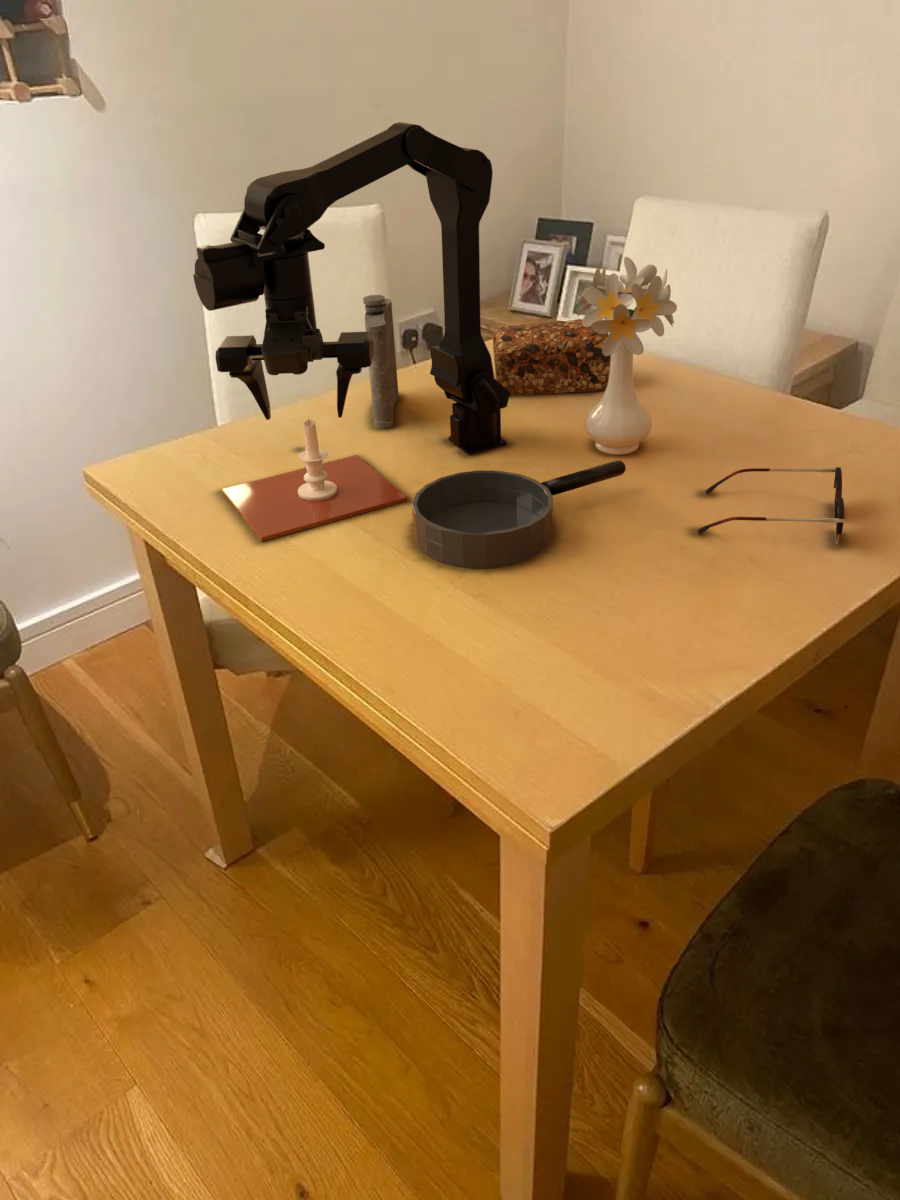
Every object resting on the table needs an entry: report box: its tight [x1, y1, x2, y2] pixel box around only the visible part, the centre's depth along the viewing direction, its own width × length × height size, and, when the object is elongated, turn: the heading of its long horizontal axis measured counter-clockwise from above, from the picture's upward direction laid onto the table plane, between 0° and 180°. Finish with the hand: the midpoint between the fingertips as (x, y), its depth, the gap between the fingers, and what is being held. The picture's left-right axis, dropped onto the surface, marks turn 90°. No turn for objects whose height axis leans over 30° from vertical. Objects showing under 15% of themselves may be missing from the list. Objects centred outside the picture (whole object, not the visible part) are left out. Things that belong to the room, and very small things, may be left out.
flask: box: [362, 294, 400, 430], centre depth 149 cm, size 4×14×18 cm, turn 179°
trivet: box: [221, 454, 408, 542], centre depth 129 cm, size 20×16×1 cm
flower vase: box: [576, 256, 678, 455], centre depth 131 cm, size 13×18×25 cm
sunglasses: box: [697, 466, 845, 545], centre depth 118 cm, size 14×16×5 cm
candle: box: [298, 418, 337, 501], centre depth 126 cm, size 5×5×10 cm
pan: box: [411, 469, 554, 569], centre depth 118 cm, size 17×17×4 cm
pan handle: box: [540, 459, 627, 497], centre depth 123 cm, size 13×2×2 cm, turn 119°
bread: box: [492, 318, 611, 396], centre depth 158 cm, size 19×11×10 cm, turn 89°
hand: (304, 417), depth 123 cm, fingers open, 9 cm apart
